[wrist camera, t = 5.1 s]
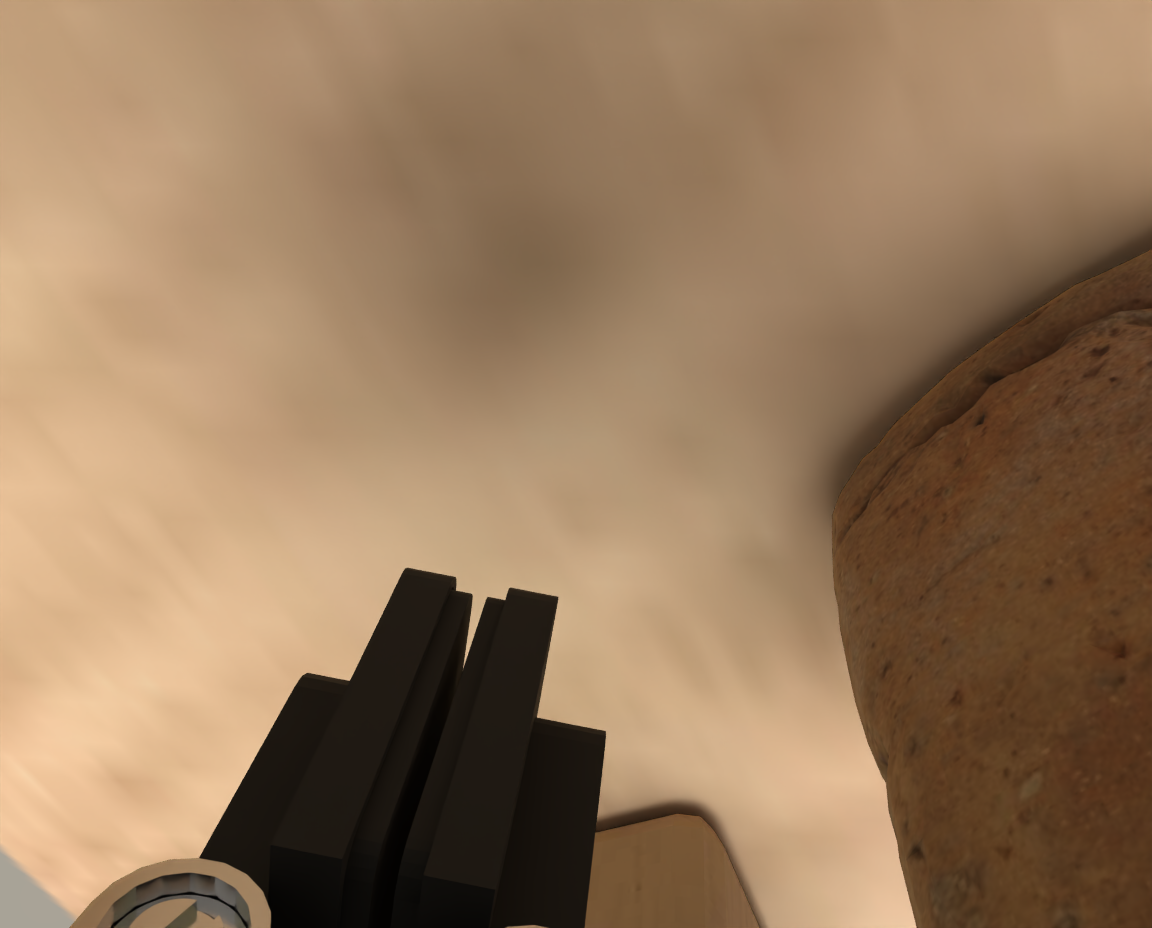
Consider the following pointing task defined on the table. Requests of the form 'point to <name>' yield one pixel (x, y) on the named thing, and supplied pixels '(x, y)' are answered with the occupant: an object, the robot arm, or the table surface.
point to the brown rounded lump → (1015, 620)
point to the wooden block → (664, 878)
